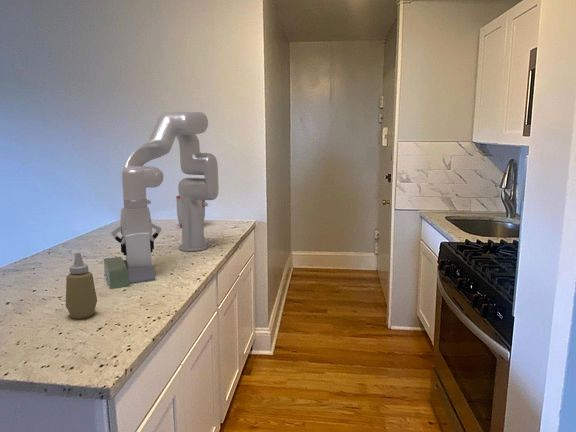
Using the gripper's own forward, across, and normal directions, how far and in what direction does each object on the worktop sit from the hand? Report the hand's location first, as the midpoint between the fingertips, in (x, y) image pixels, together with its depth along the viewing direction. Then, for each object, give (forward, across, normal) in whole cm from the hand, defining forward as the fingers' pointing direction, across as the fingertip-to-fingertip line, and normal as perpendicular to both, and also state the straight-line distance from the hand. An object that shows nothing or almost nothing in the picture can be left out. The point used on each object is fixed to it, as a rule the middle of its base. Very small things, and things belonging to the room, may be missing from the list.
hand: (137, 252), depth 158 cm
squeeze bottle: (+9, +20, +28) cm, 36 cm away
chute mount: (+9, +3, 0) cm, 9 cm away
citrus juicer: (+10, -42, -78) cm, 89 cm away
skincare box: (+7, 0, 0) cm, 7 cm away
